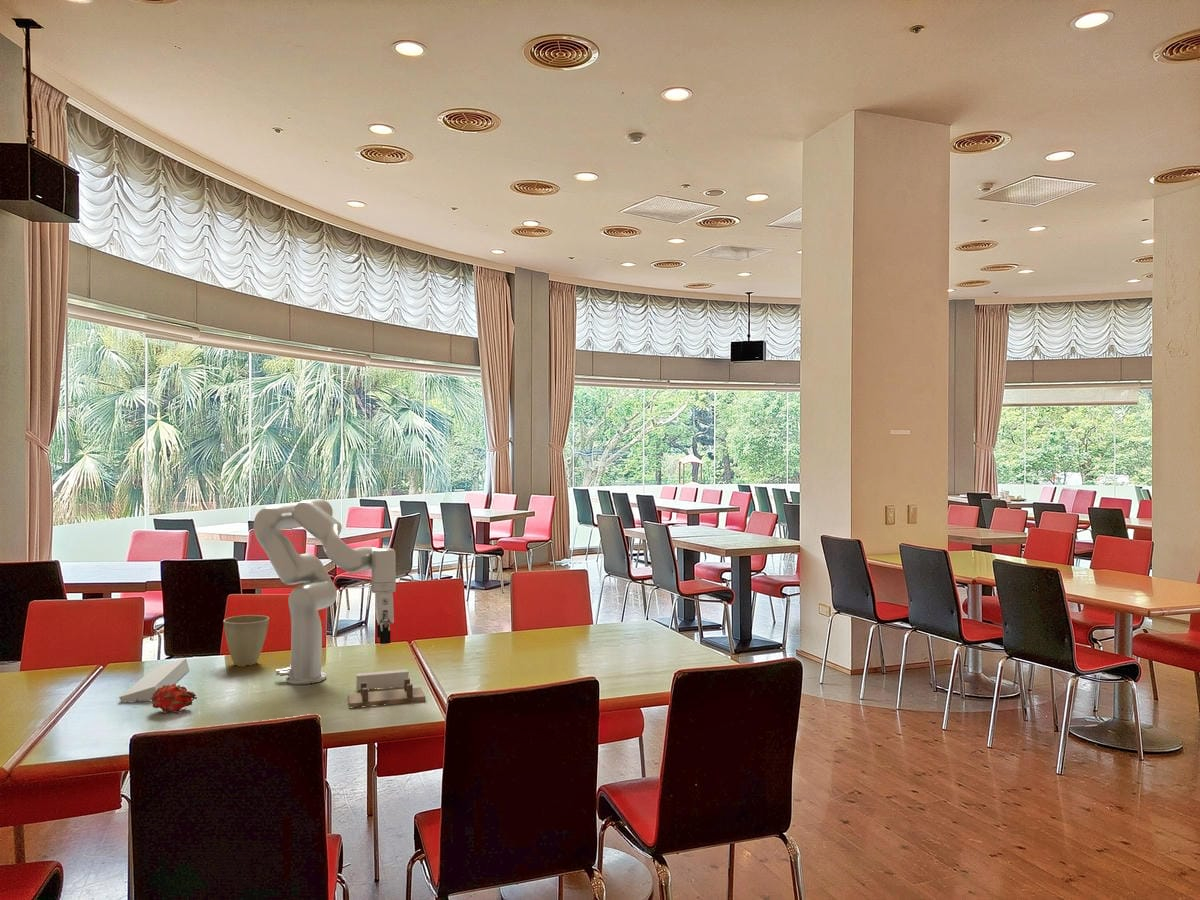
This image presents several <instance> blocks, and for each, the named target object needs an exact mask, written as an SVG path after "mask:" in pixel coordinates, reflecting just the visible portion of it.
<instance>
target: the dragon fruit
mask: <svg viewBox="0 0 1200 900" xmlns="http://www.w3.org/2000/svg"><path fill="white" fill-rule="evenodd" d="M187 689H188V688H186V687H185V686H181V685H180V684H173V685H172V686H169V685H163V687H162V688H158V689H157V691H156V692H155V693H154V694H153V697H152V698H151V699H152V701H151V702H152V705H151V707H153V708H154V709H160V710H162V712H163V713H164V714H168V712H174V713H183V712H185V711H187V709H186V707H189V706H192V705H193V701H194V700H197V699H198V697H197V694H195V692H194V691H190V690H189V691H188V690H187ZM183 708H185V709H183Z"/></svg>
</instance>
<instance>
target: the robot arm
mask: <svg viewBox="0 0 1200 900" xmlns="http://www.w3.org/2000/svg"><path fill="white" fill-rule="evenodd" d="M333 512H334V511H333V507H332V505H331V504H330V502H328V501H327V500H325V499H322V498H316V499H315V498H314V499H313V498H312V499H305V500H301V501H299V502H296V503H287V504H286V503H285V504H284V503H283V504H273V505H267V506H266V507H264V508H263V507H262V509H260V510H259V511H258V512H257V513H256V515H255V517H254V520H253V533H254V535H255V539H256V540H257V542H258V543H259V545H260V546H261V548H262V549H263V551H264V552H265V554H266V556H267V557H268V559H269V562H270V563H271V565H272V567H273V569H274V570H275V572H276V575H278V578H279V579H280V581H281V582H282V583H283V584H285V585H288V586H291V585H298V584H300V585H298V586H296V587H294V588H293V589H292V590H291V592H289V595H288V600H287V601H288V609H289V613H290V627H291V628H290V665H289V667H286V668H277V669H276V671H275V676H279V677H285V676H286V677H285V682H286V683H287V684H290V685H311V684H310V683H312V684H315V683H316V682H317V683H321V682H322V680H323V681H324V680H326V678H327V673H325V672H324V671H322V655H323V654H322V649H323V648H322V645H323V644H322V643H323V638H322V637H323V636H322V635H323V633H322V632H323V630H322V629H323V628H322V620H321V617H320V615H319V610H323V609H327V608H329V607H331V606H332V605H333V604H334V603H335V602H336V600H337V596H338V595H337V588H336V585H335V584H334V581H333V580H332V578H331V577H330V574H329V573H328V571H327V570H326V567H325V566H324V564H323V562H322V561H321V559H320V558H319V557H317V556H316V555H314V554H313V553H301V554H299V553H298V552H297V550H296V548H295V547H294V545H293V543H292V542H291V540H290V539H289V538H288V537H287V536H286V535H285V534H283V533H282V532H281V530H282V531H283V530H289V529H290V530H291V529H298V528H303V529H304V530H305V531H307V532H308V533H309V534H310V535H312V536H313V537H314V538H315V539H316V540H318V541H319V542H320V543H321V544H322V549H323V550H324V552H325V554H326V556H327V558H328V559H329V560H330V561H331V562H332V563H333V564H334V565H336V566H337V567H338V568H339V569H341V570H343V571H344V572H347V573H351V574H352V573H353V574H354V573H358V572H359V573H360V572H363V571H368V570H371V593H372V594H374V595H375V596H374V598H375V603H374V604H375V617H376V621H377V625H376V629H377V630H376V631H377V632H376V637H377V638H379V644H380V645H386V644H387V645H388V644H391V626H390V625H391V624H394V622H395V617H394V614H395V613H394V595H393V593H395V592H396V590H397V589H396V587H397V586H396V585H397V584H396V583H397V581H396V577H397V573H396V570H397V569H396V566H397V565H396V556H397V555H396V550H395V549H394V548H389V547H381V548H380V547H376V546H362V547H356V548H352V547H351V546H349V545H348V544H347V543H345V542H344V540H342V538H340V533H341V532H342V523H341V522H339V521H338V520H337V519H336V518H334V517H333V514H334V513H333ZM302 583H303V584H302ZM390 623H391V624H390ZM317 683H316V684H317Z"/></svg>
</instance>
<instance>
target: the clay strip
mask: <svg viewBox="0 0 1200 900" xmlns="http://www.w3.org/2000/svg"><path fill="white" fill-rule="evenodd" d="M404 678H409V669H406V668H405V669H398V670H397V669H396V670H395V669H394V670H384V671H383V670H382V671H371V672H362V673H355V690H361V682H366V683H367V688H368V689H375V688H376V690H378V689H377V688H387V689H391V688H390V687H398V688H402V687H401V686H404Z"/></svg>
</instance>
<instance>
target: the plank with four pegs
mask: <svg viewBox="0 0 1200 900" xmlns="http://www.w3.org/2000/svg"><path fill="white" fill-rule="evenodd" d="M347 702H349V703H348V708H349V707H361V708H363V707H362V706H372V705H382V706H385V705H384V704H393V705H399V704H398V703H403V704H410V703H411V702H413V703H422V702H426V694H425V692H424V691H423V689H422V687H421V686H420V687H414V685H413V683H411V679H410V677H408V678H404V687H403V688H400V689H387V690H377V691H376V690H374V691H369V690H368V688H367V683H366V682H361V691H360V692H355V693H347ZM372 707H373V706H372Z"/></svg>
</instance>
